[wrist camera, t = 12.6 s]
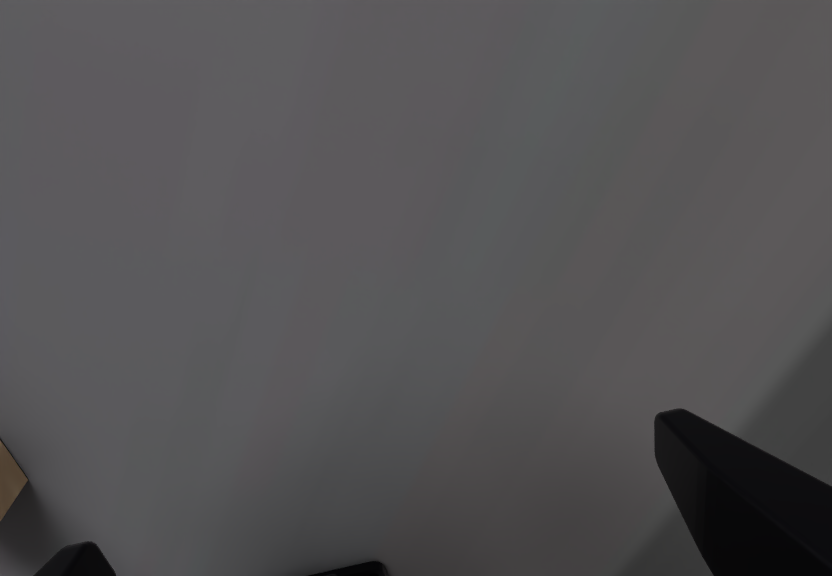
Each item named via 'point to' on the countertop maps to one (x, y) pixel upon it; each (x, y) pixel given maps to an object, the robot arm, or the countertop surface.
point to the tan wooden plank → (9, 480)
